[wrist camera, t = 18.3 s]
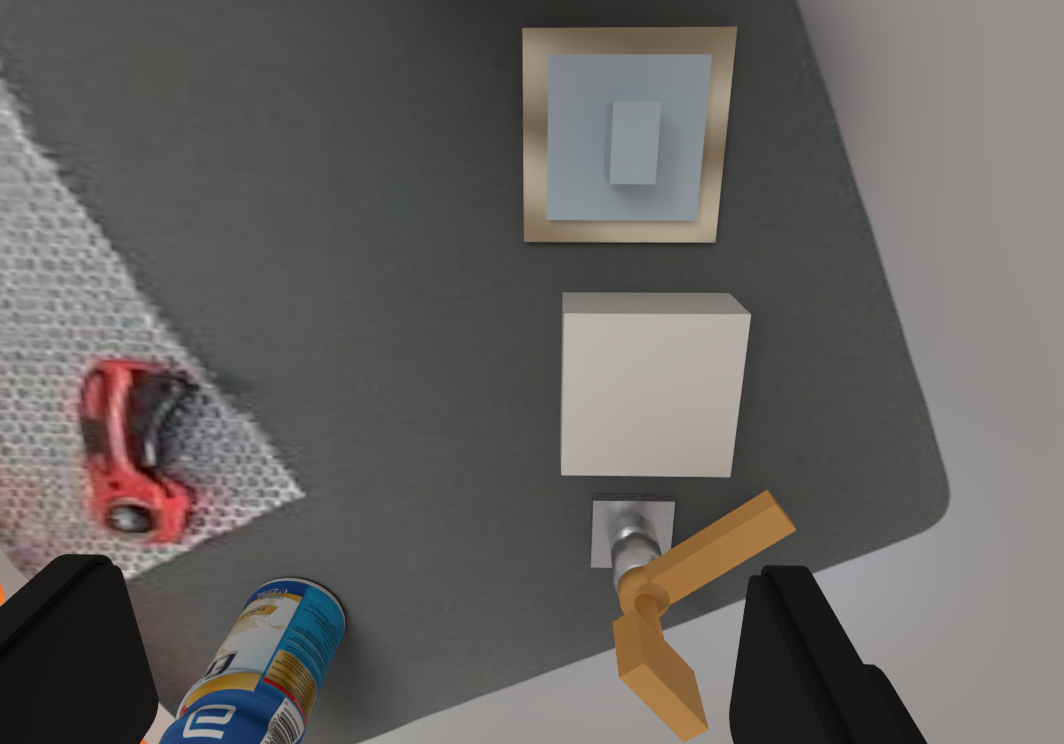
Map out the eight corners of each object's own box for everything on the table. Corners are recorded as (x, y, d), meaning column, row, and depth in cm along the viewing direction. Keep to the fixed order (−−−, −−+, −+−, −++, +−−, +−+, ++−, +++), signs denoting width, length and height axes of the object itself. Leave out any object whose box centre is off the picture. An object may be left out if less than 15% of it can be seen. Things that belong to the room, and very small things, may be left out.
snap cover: (548, 56, 37) (548, 45, 31) (707, 56, 36) (733, 45, 31) (546, 216, 40) (546, 231, 35) (692, 217, 40) (713, 233, 34)
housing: (562, 292, 43) (564, 313, 38) (729, 293, 42) (751, 314, 38) (560, 439, 47) (561, 475, 42) (712, 441, 46) (730, 477, 42)
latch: (751, 470, 40) (807, 568, 31) (802, 533, 41) (869, 644, 33) (595, 568, 43) (607, 684, 34) (648, 624, 44) (672, 748, 36)
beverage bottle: (331, 665, 55) (220, 942, 37) (236, 632, 54) (72, 900, 36) (362, 594, 52) (259, 855, 34) (262, 558, 51) (99, 807, 33)
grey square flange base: (592, 493, 48) (598, 546, 42) (672, 494, 48) (690, 548, 42) (590, 559, 51) (595, 618, 45) (666, 560, 50) (682, 620, 44)
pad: (523, 30, 37) (522, 27, 36) (732, 29, 37) (737, 26, 36) (524, 239, 42) (523, 242, 41) (711, 239, 41) (715, 242, 40)
